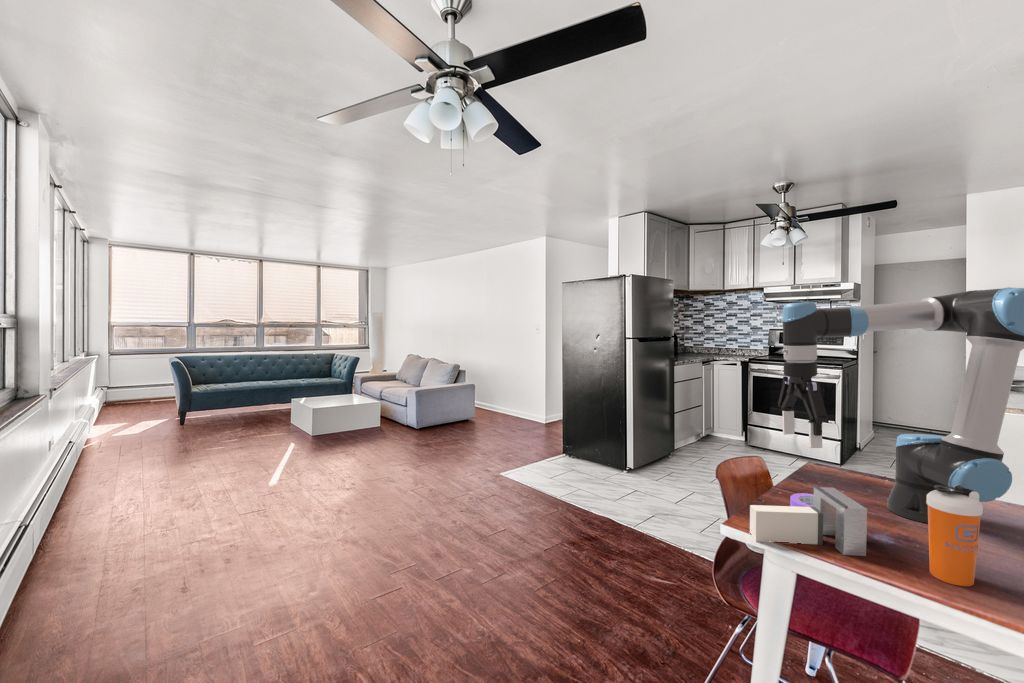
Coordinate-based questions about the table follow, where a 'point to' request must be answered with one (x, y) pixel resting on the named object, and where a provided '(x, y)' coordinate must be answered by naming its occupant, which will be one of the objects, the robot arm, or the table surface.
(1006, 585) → the table surface
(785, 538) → the cream rectangular block
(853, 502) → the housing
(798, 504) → the masking tape
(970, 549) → the shaker bottle
